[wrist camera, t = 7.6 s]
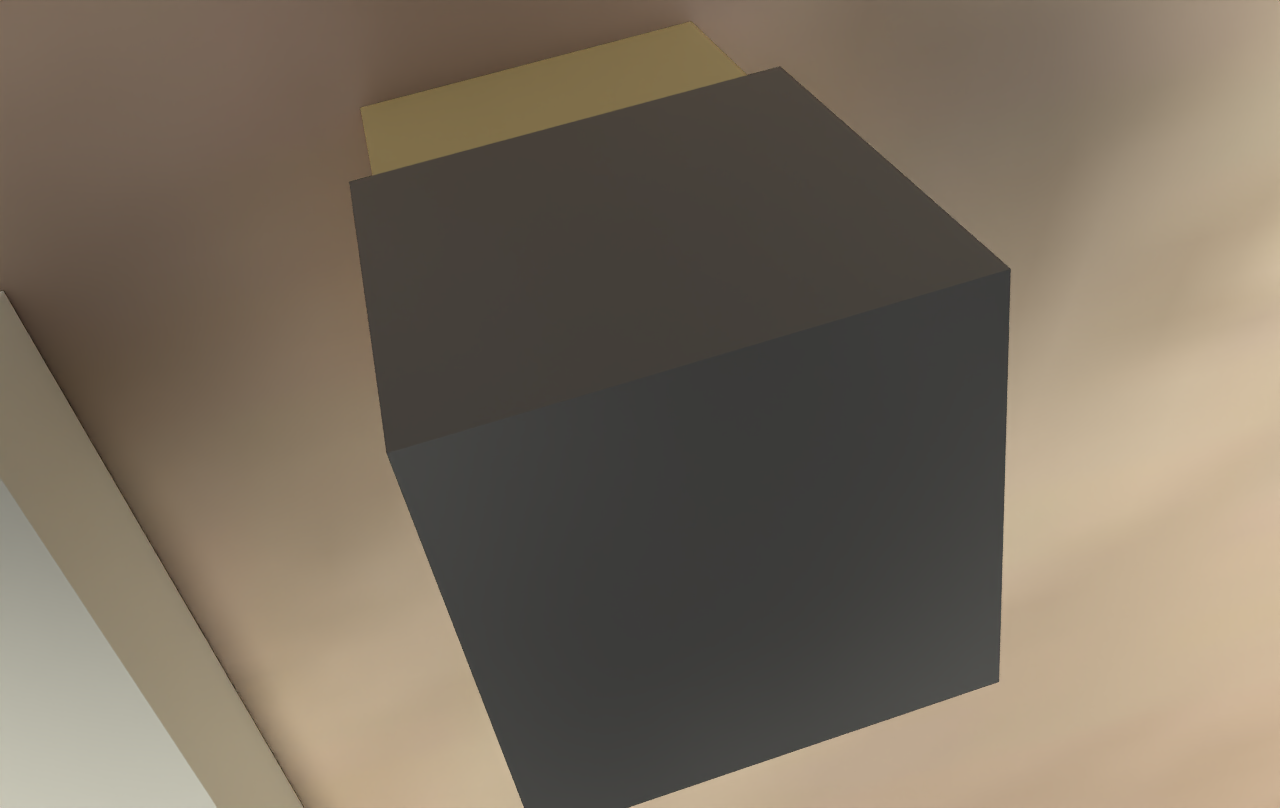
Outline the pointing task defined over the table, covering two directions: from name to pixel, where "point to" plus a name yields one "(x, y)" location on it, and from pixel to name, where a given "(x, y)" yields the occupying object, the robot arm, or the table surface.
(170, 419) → the table surface
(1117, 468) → the table surface
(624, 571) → the plug
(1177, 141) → the table surface
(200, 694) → the socket plate
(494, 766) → the table surface
